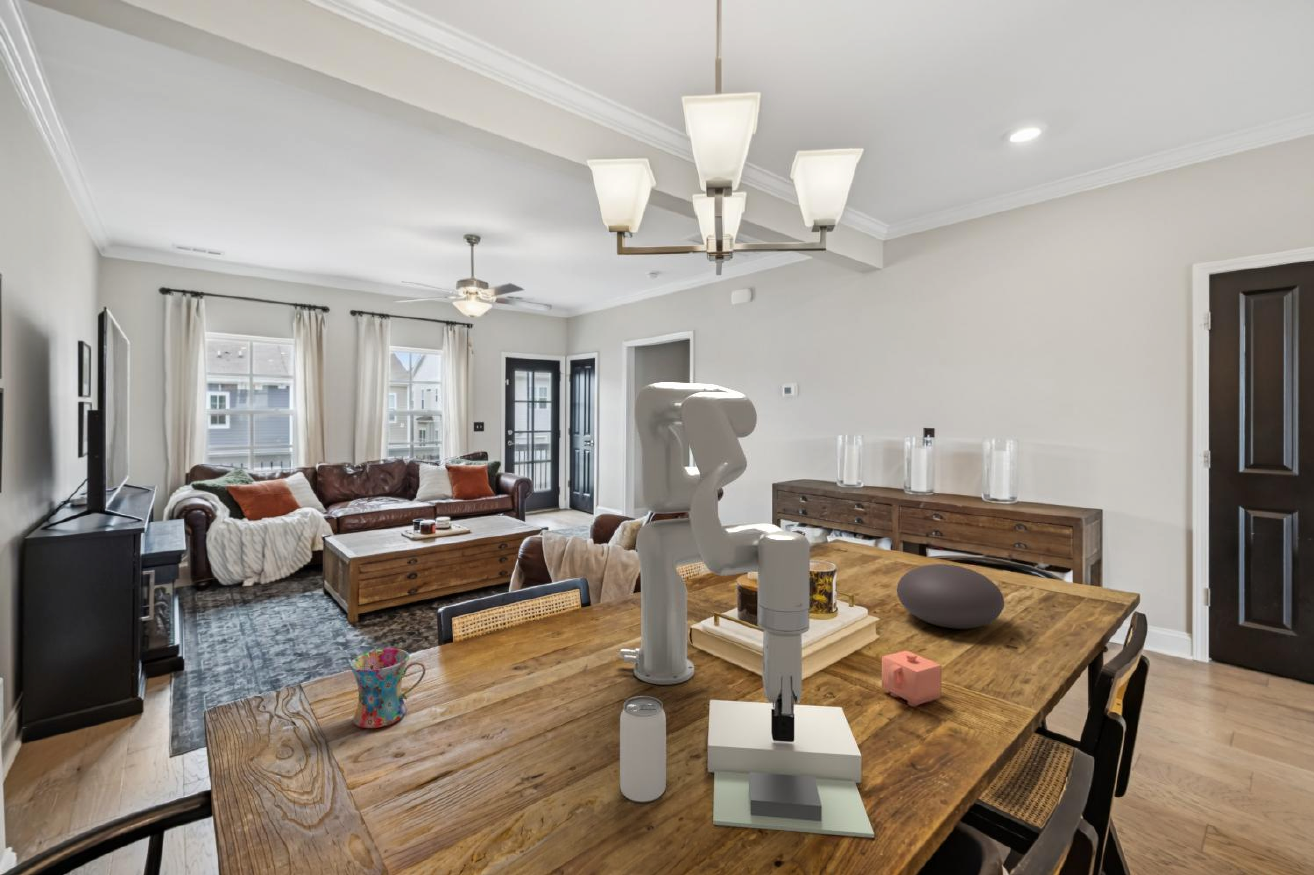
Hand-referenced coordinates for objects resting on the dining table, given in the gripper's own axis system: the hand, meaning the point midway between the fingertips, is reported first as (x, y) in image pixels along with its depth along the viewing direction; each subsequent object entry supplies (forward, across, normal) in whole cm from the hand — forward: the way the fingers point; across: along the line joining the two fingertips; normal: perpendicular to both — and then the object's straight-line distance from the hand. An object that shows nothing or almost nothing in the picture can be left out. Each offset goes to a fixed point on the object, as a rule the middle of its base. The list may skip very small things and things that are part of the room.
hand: (782, 738), depth 85 cm
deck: (+5, -5, 0) cm, 7 cm away
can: (+5, +7, -20) cm, 22 cm away
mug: (+5, -8, -67) cm, 68 cm away
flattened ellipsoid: (+5, -68, +49) cm, 84 cm away
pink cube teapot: (+5, -26, +27) cm, 38 cm away
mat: (+5, +8, 0) cm, 9 cm away
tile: (+2, +8, -1) cm, 9 cm away
